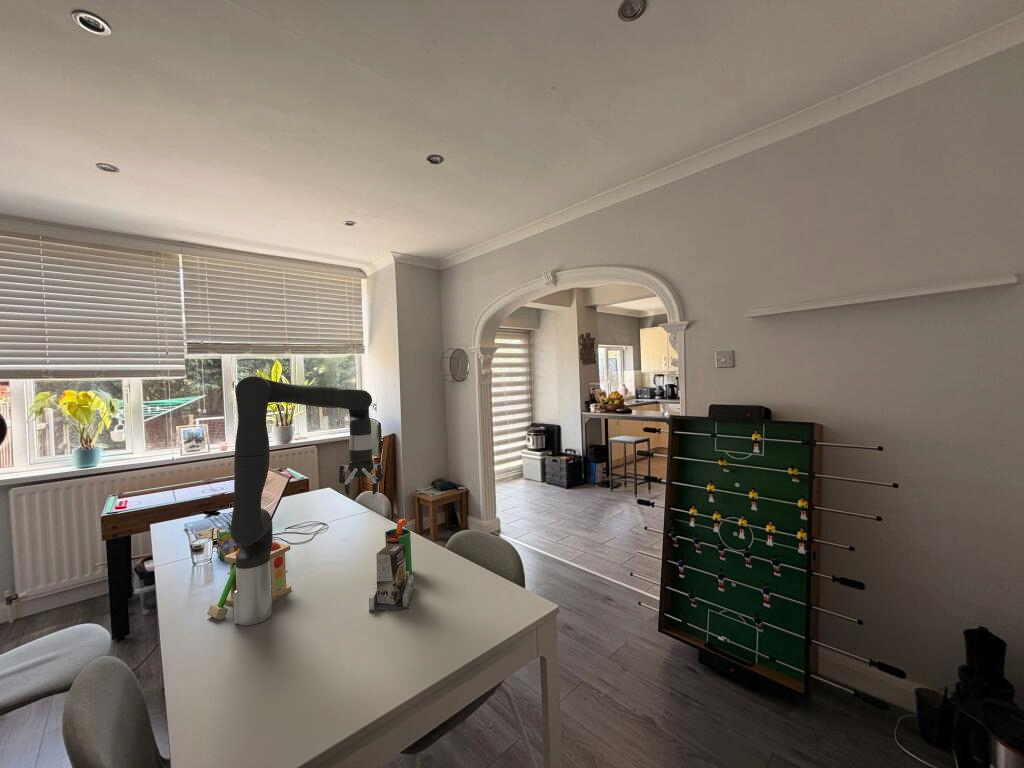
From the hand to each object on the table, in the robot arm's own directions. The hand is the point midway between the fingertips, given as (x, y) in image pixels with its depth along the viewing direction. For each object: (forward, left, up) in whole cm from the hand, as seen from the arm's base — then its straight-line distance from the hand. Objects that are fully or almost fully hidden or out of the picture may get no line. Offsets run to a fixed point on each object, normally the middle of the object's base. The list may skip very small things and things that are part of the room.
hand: (361, 494), depth 145 cm
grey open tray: (+11, -7, -34) cm, 36 cm away
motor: (+10, +12, -34) cm, 37 cm away
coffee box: (+11, -7, -33) cm, 35 cm away
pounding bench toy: (-37, -2, -34) cm, 51 cm away
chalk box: (-65, +41, -34) cm, 84 cm away
